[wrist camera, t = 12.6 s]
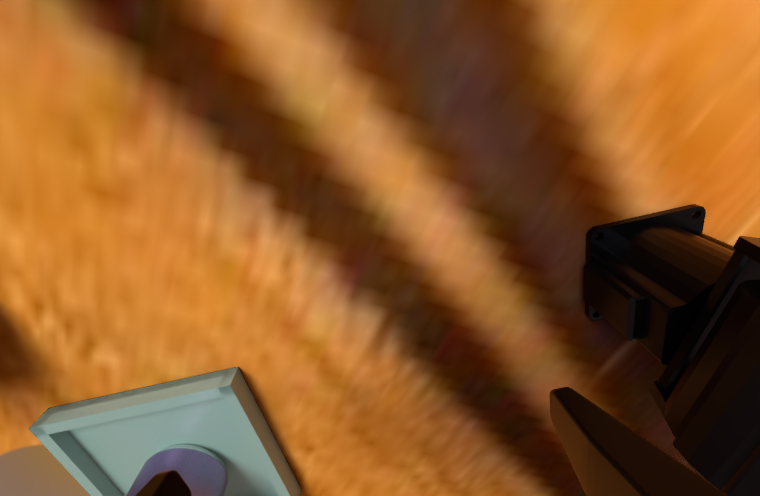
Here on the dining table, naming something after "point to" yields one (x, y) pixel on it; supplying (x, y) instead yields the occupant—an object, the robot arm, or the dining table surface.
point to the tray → (168, 434)
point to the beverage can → (186, 469)
